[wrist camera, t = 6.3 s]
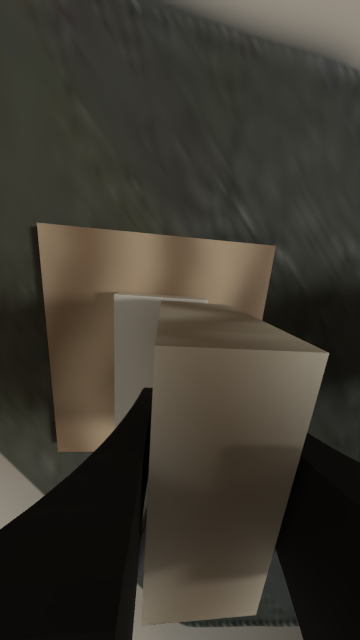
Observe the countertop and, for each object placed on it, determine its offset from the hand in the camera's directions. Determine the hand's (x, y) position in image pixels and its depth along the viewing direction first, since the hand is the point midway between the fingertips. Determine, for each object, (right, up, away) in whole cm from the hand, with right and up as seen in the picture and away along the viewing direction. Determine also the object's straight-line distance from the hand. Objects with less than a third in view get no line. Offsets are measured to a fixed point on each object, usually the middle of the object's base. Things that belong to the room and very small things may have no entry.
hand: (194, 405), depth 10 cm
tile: (+1, +1, +4) cm, 5 cm away
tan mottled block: (0, +1, +2) cm, 2 cm away
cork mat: (-3, +2, +6) cm, 7 cm away
